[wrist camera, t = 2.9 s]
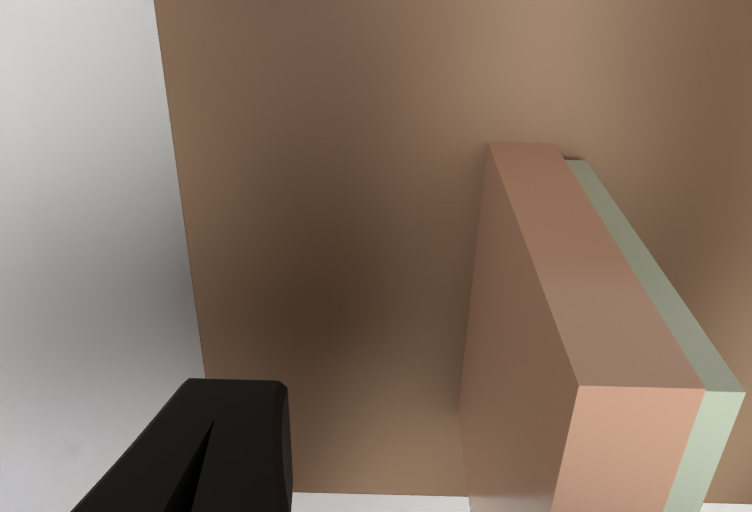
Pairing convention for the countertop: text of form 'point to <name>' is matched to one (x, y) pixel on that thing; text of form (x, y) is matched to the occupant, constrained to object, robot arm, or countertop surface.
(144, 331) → the countertop surface
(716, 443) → the tile
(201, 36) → the board
